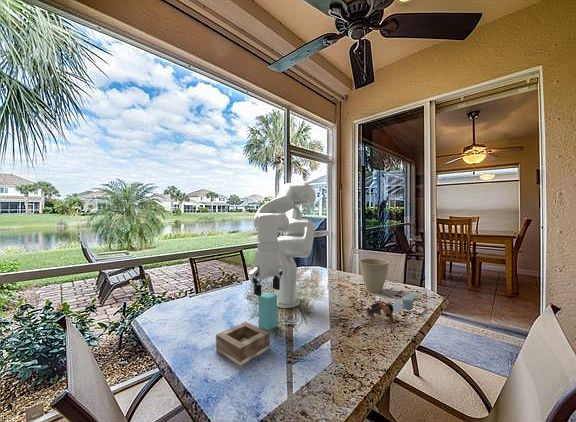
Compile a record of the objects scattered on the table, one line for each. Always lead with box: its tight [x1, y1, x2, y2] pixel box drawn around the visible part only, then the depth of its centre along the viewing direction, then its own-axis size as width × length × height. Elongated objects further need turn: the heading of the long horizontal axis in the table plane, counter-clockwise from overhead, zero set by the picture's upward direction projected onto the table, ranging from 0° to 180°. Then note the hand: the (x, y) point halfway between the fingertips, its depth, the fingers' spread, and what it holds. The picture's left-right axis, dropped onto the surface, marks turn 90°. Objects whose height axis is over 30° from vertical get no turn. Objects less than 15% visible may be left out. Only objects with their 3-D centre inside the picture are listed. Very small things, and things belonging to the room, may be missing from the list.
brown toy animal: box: [365, 301, 395, 326], centre depth 102 cm, size 12×10×8 cm
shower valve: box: [388, 293, 418, 312], centre depth 113 cm, size 12×6×15 cm
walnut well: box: [215, 321, 271, 366], centre depth 81 cm, size 12×12×5 cm
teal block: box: [258, 291, 278, 332], centre depth 96 cm, size 5×5×12 cm
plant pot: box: [359, 258, 390, 294], centre depth 137 cm, size 15×15×16 cm
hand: (267, 292), depth 96 cm, fingers open, 9 cm apart
